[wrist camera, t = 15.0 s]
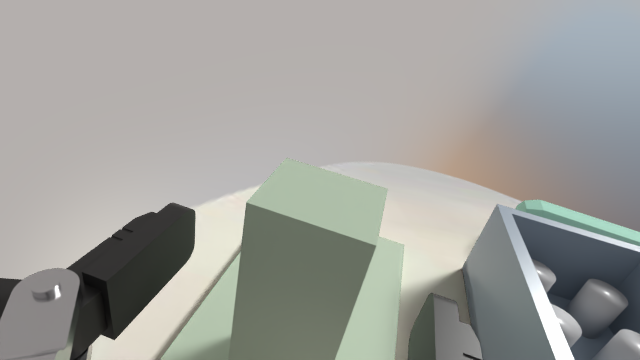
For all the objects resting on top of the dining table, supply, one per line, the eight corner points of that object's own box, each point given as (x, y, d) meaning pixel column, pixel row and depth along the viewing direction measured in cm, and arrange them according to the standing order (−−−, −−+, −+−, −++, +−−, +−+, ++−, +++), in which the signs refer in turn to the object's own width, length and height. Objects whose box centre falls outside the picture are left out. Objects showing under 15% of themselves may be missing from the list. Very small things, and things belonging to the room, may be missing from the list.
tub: (598, 312, 25) (653, 250, 22) (759, 591, 13) (922, 537, 10) (462, 267, 27) (497, 203, 24) (496, 485, 15) (575, 410, 12)
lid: (401, 252, 27) (454, 124, 22) (381, 466, 15) (495, 286, 9) (275, 210, 29) (296, 81, 23) (158, 373, 16) (147, 170, 11)
